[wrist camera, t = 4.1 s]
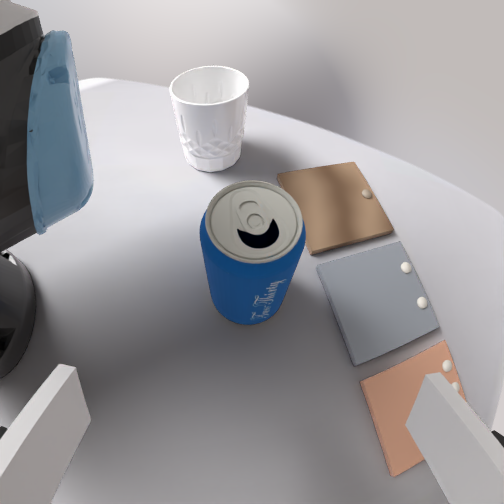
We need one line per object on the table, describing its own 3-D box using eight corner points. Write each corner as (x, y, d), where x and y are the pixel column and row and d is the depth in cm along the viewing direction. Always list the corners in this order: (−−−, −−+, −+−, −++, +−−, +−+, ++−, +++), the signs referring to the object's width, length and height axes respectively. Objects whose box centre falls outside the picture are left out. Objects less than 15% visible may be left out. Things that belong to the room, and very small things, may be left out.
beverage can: (224, 336, 27) (217, 284, 16) (202, 272, 29) (185, 190, 19) (293, 312, 28) (329, 248, 17) (267, 252, 31) (283, 165, 20)
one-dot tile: (310, 254, 31) (312, 250, 30) (276, 178, 35) (277, 172, 34) (391, 233, 33) (394, 228, 32) (352, 166, 37) (354, 160, 36)
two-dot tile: (354, 366, 26) (358, 364, 25) (315, 268, 30) (318, 263, 29) (435, 328, 28) (440, 325, 27) (397, 244, 32) (401, 240, 31)
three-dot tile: (390, 475, 21) (395, 477, 20) (359, 381, 25) (363, 380, 24) (468, 425, 23) (474, 425, 22) (440, 341, 27) (446, 339, 26)
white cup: (167, 155, 36) (153, 88, 27) (212, 123, 39) (209, 59, 31) (213, 187, 34) (208, 115, 25) (259, 150, 37) (265, 81, 28)
